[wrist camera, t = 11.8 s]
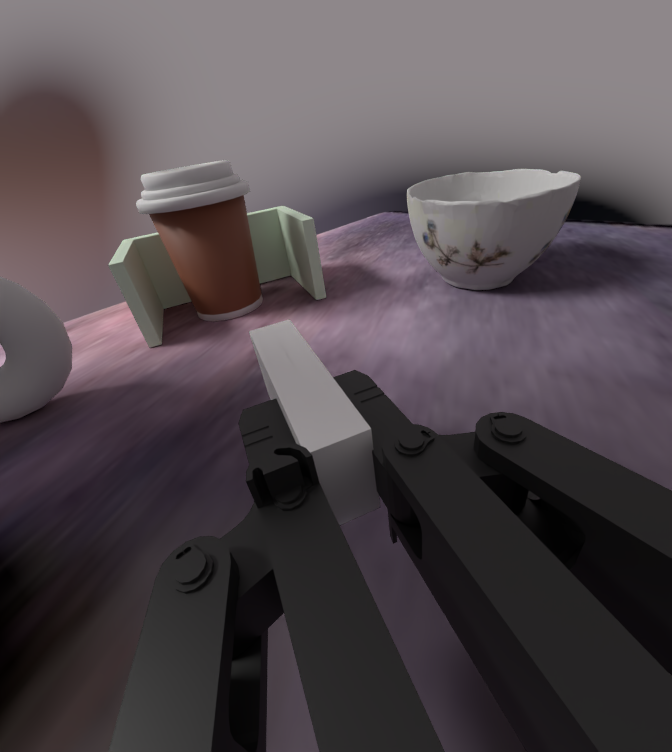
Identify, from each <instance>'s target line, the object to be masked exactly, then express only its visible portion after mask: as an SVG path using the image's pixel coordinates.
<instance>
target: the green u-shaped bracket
mask: <svg viewBox="0 0 672 752" xmlns="http://www.w3.org/2000/svg"><path fill="white" fill-rule="evenodd" d="M247 217H248V222H249V228H250V233H251V239H252V244H253V250H254V255H255V261H256V266H257V272H258V277H259V283H264V282H268V281H272V280H276V279H279V278H283V277H287V276H292V277H293V278H294V279H295V280H296V281H297V282H298V283H299V284H300V285H301V286H302V287H303V288H304V289H305V290H306V291H308V292H309V293H310V294H311V295H312V296H313V297H314V298H315V299H316V300H319V299H323V298H326V292H325V286H324V280H323V273H322V267H321V261H320V255H319V249H318V243H317V237H316V231H315V226H314V219H313V218H311V217H309V216H306V215H304V214H302V213H299V212H297V211H294V210H292V209H290V208H287V207H285V206H280V207H275V208H270V209H266V210H261V211H257V212H252V213H247ZM108 266H109V268H110V270H111V272H112V274H113V276H114V278H115V280H116V282H117V284H118V286H119V288H120V290H121V292H122V294H123V296H124V298H125V300H126V302H127V304H128V306H129V308H130V310H131V312H132V314H133V316H134V318H135V320H136V322H137V324H138V326H139V328H140V330H141V332H142V334H143V336H144V338H145V340H146V342H147V344H148V346H149V348H151V347H154V346H158V345H161V344H162V332H163V314H164V309H165V308H169V307H173V306H177V305H181V304H184V303H188V302H192V301H191V299H190V297H189V295H188V293H187V291H186V289H185V287H184V285H183V283H182V281H181V278H180V276H179V274H178V272H177V270H176V268H175V266H174V264H173V262H172V260H171V258H170V256H169V254H168V252H167V250H166V248H165V246H164V244H163V242H162V240H161V238H160V235H159V233H154V234H149V235H144V236H140V237H135V238H131V239H126V240H123V241H122V243H121V245H120V247H119V248H118V250H117V251H116V253H115V255H114V256H113V258H112V260H111V261H110V263H109V265H108Z"/></svg>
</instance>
